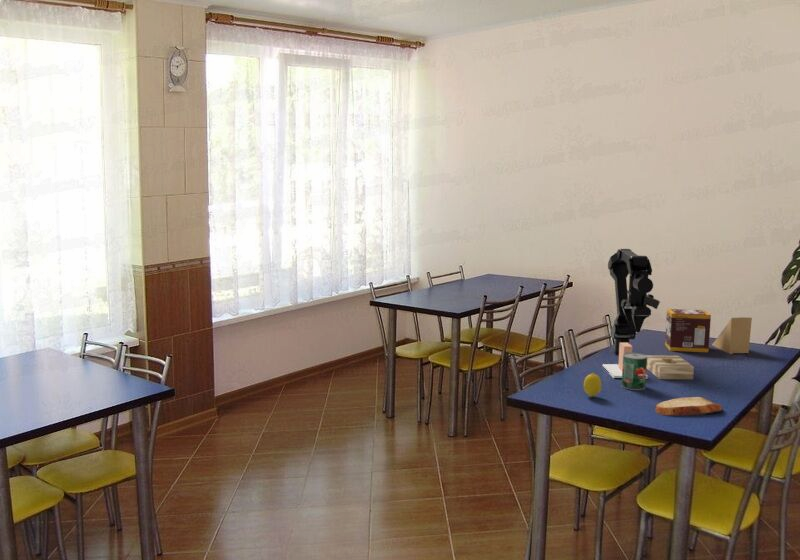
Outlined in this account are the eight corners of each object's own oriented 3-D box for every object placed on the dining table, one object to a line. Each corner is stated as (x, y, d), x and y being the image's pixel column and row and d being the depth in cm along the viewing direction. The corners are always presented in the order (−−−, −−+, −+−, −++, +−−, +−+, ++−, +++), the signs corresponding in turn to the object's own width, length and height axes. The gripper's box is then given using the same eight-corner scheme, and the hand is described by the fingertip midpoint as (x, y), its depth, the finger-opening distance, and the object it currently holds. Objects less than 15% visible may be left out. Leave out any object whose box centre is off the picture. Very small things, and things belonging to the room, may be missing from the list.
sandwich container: (730, 345, 329) (733, 310, 327) (749, 354, 314) (752, 317, 312) (710, 345, 329) (713, 310, 326) (728, 354, 313) (731, 317, 311)
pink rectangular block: (618, 367, 287) (619, 342, 285) (626, 367, 287) (627, 342, 285) (622, 372, 281) (624, 346, 279) (631, 372, 281) (632, 346, 279)
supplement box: (664, 345, 327) (666, 308, 325) (702, 346, 325) (705, 309, 323) (669, 350, 317) (671, 313, 315) (708, 352, 315) (711, 314, 313)
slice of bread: (651, 414, 239) (652, 402, 238) (665, 399, 254) (666, 388, 253) (713, 425, 229) (714, 412, 229) (724, 408, 245) (725, 397, 244)
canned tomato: (644, 391, 261) (646, 359, 259) (620, 388, 264) (622, 357, 262) (646, 385, 268) (647, 353, 267) (622, 382, 271) (624, 351, 269)
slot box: (645, 367, 292) (645, 355, 291) (677, 367, 292) (678, 355, 291) (659, 379, 276) (659, 366, 275) (693, 379, 276) (693, 366, 275)
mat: (602, 366, 292) (602, 364, 292) (634, 367, 292) (634, 364, 292) (613, 378, 276) (613, 375, 276) (647, 378, 276) (647, 376, 276)
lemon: (581, 394, 257) (582, 370, 256) (598, 394, 257) (599, 371, 256) (585, 399, 252) (586, 375, 250) (602, 399, 251) (603, 375, 250)
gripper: (666, 293, 284) (663, 335, 286) (650, 285, 302) (648, 324, 305) (635, 293, 284) (633, 334, 286) (621, 284, 303) (619, 324, 305)
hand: (634, 329), depth 296 cm, fingers open, 9 cm apart
